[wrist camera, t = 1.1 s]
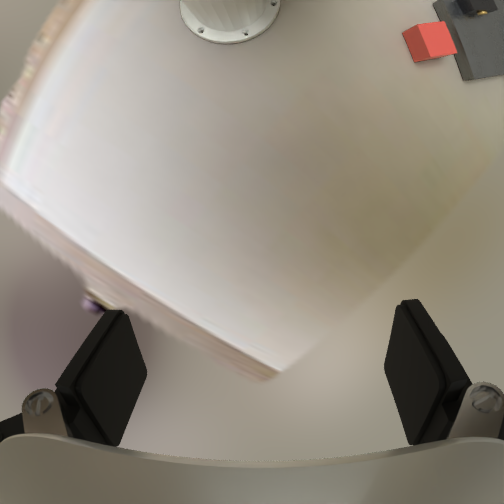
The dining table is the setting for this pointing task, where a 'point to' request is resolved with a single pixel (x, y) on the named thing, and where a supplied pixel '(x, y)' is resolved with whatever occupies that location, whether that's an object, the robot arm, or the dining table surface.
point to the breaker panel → (475, 35)
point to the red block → (429, 41)
